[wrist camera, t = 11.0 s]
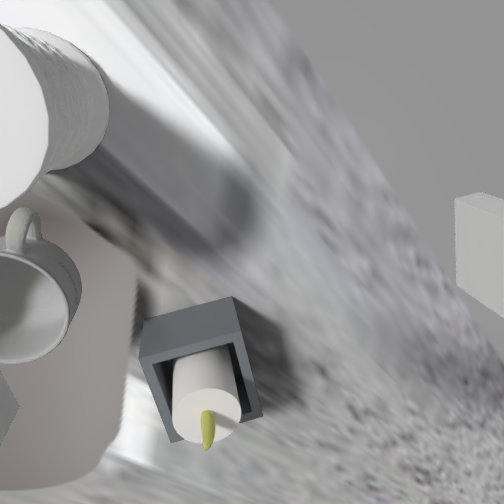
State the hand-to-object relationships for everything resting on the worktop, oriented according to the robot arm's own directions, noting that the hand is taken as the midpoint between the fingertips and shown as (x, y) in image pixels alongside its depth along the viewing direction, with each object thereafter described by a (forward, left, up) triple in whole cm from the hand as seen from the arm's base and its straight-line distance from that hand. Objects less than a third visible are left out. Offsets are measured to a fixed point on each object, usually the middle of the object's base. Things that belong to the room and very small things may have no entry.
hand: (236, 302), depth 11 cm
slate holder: (+22, -5, -32) cm, 39 cm away
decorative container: (-7, -12, -32) cm, 35 cm away
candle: (+22, -5, -31) cm, 38 cm away
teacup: (+7, -18, -32) cm, 37 cm away
